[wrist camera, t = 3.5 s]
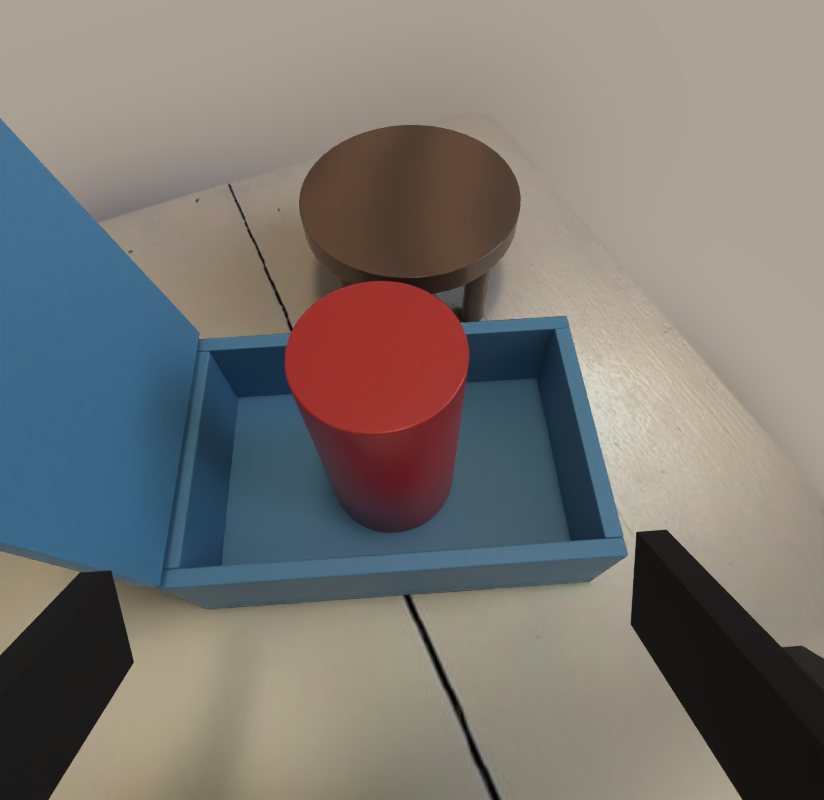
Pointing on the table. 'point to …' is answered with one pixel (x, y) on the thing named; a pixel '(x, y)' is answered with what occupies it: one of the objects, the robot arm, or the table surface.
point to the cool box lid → (83, 385)
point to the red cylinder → (382, 398)
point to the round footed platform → (412, 210)
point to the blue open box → (374, 550)
